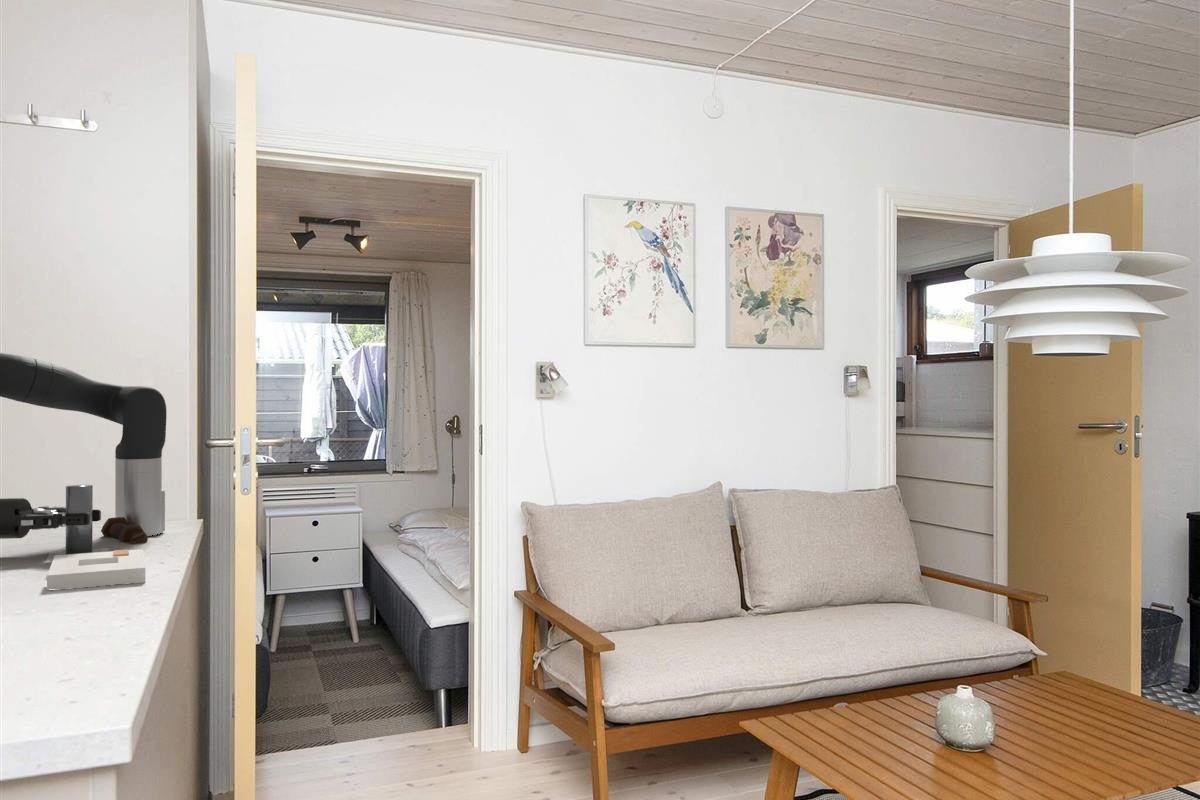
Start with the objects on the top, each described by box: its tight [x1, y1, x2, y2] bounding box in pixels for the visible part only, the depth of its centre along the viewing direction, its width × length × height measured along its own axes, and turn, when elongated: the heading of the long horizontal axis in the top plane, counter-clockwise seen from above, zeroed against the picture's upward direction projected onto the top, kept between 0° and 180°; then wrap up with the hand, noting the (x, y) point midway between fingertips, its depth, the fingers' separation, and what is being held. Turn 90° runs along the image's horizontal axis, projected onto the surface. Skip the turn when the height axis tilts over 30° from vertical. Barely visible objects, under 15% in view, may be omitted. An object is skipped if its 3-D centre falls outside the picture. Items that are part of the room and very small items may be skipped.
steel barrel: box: [65, 484, 94, 555], centre depth 168 cm, size 4×4×13 cm
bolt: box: [100, 517, 149, 545], centre depth 186 cm, size 6×5×15 cm
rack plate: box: [46, 548, 146, 591], centre depth 153 cm, size 20×14×3 cm
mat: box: [46, 547, 110, 562], centre depth 168 cm, size 10×10×1 cm
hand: (94, 517), depth 169 cm, fingers closed on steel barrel, 4 cm apart
